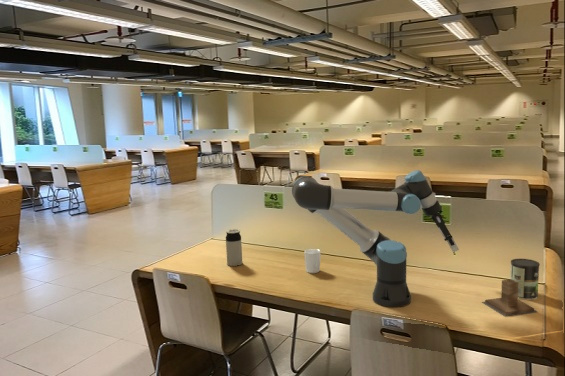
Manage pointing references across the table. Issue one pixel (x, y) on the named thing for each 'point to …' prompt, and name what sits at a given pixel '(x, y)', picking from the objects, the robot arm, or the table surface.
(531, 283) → the coffee can
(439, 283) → the table surface
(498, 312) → the mat
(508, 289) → the lid
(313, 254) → the white cup
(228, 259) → the travel mug
